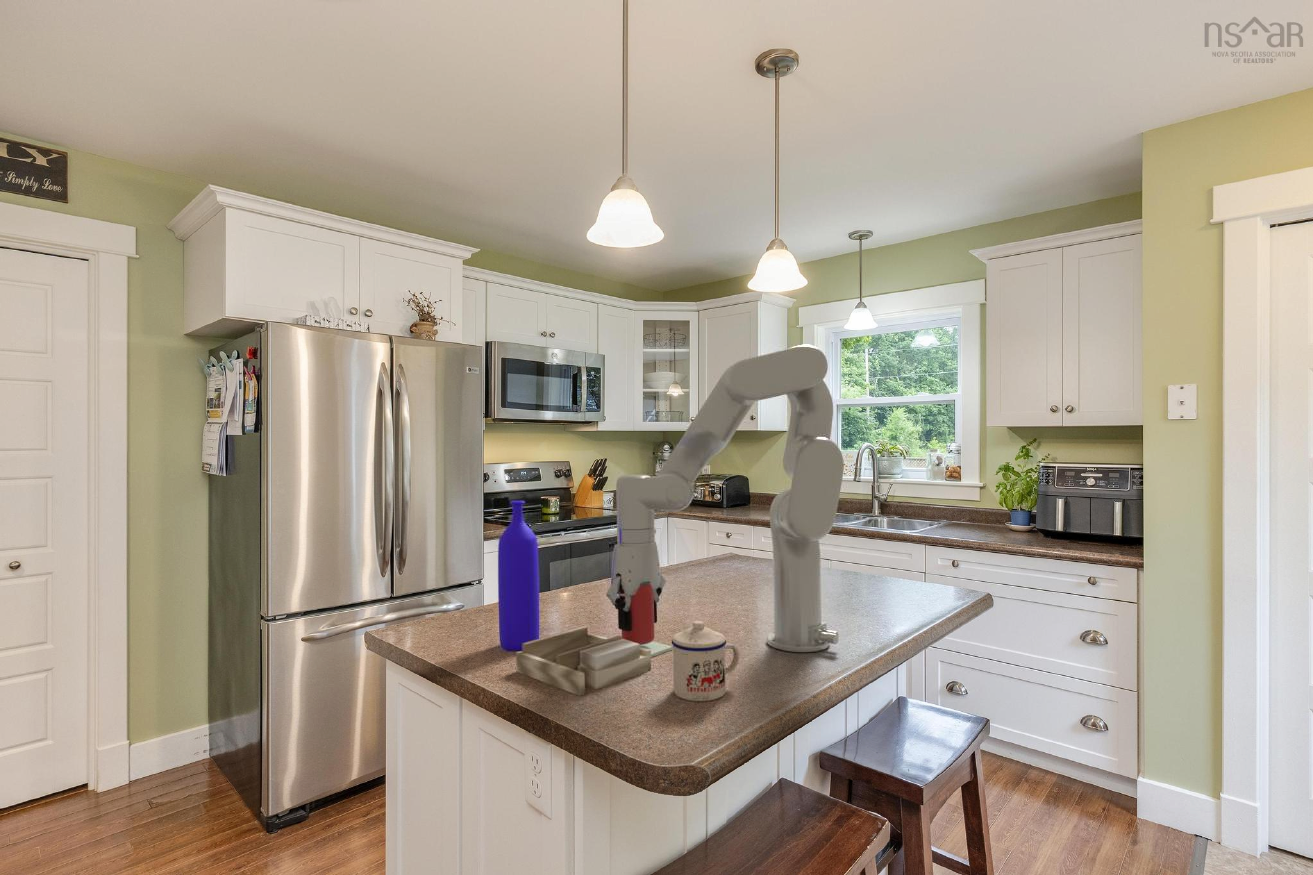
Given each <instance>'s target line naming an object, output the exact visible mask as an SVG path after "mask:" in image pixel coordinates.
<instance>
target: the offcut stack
mask: <svg viewBox="0 0 1313 875" xmlns="http://www.w3.org/2000/svg"><path fill="white" fill-rule="evenodd" d="M578 671H580V672H583V673H584V677H585V686H586V687H589V688H592V689H593V690H598V689H600V688H605V687H606V686H610V685H612V684H616V683H618V682H622V681H624V680H628V679H630V678H633V677H636V676H639V675H641V674H645V673H648V672H649V670H648V660H647V656H645V655H642V654H640V644H638V643H635V642H632V641H629V640H625V639H621V640H617V641H614V642H610V643H607V644H603V645H599V646H596V647H592V648H589V649H585V650H582V651H580V665H579V666H578Z"/></svg>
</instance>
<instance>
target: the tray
mask: <svg viewBox="0 0 1313 875" xmlns="http://www.w3.org/2000/svg"><path fill="white" fill-rule="evenodd" d="M621 639H622V635H616V636H613V637H607V636H602V635H599V634H595V633H592V632H588V626H586V625H583V626H579V627H577V628H573V629H569V630H566V631H562V632H558V633H555V634H552V635H547V636H544V637H541V638H540V637H539V639H537V640H533V641H530V642H526V643H522V651H515V654H516V655H515V657H516V659H515V660H516V661H515V662H516V672H517V673H520V674H521V675H522V674H523V675H525V676H527V677H530V678H532V679H535V680H538V681H540V682H542V683H545V684H548V685H550V686H553V687H555V688H558V689H561V690H564V691H566V692H570V693H572V694H574V695H576V696H579V697H581V696H584V695H586V694H585V693H586V687H585V686H586V685H585V677H584V673H583V672H580V671H578V666H579V665H580V651H582V650H585V649H589V648H592V647H596V646H599V645H603V644H607V643H610V642H614V641H617V640H621ZM640 654H642V655H645V656H647V660H648V671H649V670H652V657H651V650H649V649H646V648H642V647H640Z"/></svg>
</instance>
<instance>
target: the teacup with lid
mask: <svg viewBox="0 0 1313 875" xmlns="http://www.w3.org/2000/svg"><path fill="white" fill-rule="evenodd" d="M671 644H672V647H673V650H672V654H673V656H672V657H673V659H672V660H673V662H672V663H673V669H672V670H673V692H674V694H675V695H676V696H677V697H678V698H681V699H683V700H687V701H691V702H692V701H693V702H708V701H709V702H710V701H713V700H717V699H719V698H722V697H723V696H724V695H725V694H726V687H727V686H726V685H727V684H726V675H728V674H730V673H732V672H733V671H735V669H736V668H737V666H738V664H739V662H740V661H739V660H740V651H739V648H738V647H737V646H735V644H732V643H730V642H729V643H727V640H726V637H725V635H724V634H722V633H720V632H718V631H716V630H712V629H711V628H709V627H706V626H705V622H704V621H702V620H695V621H693V622H692V626H690V627H688V628H686V629H685V630H683V631H679V632H677V633H675V634H674V635H673V636H672V638H671ZM727 649H731V650H732V651H733V658H732V661H731V663H730V664H729V665H728V667H726V650H727Z"/></svg>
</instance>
